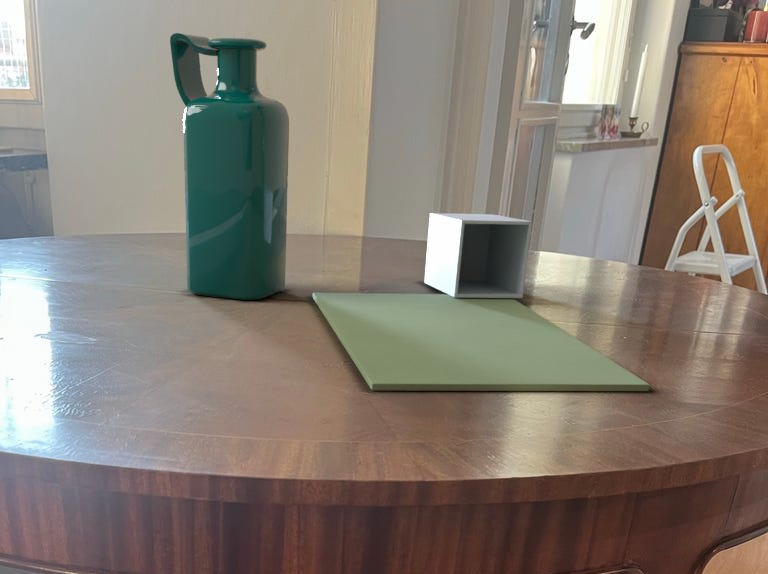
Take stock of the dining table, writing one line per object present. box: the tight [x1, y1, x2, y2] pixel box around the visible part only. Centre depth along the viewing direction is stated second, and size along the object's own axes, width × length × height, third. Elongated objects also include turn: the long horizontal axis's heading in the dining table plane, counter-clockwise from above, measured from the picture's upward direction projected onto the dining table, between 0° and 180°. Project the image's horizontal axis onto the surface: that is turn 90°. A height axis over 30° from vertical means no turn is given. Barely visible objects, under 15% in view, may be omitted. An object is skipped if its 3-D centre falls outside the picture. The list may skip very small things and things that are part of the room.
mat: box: [312, 292, 651, 392], centre depth 81 cm, size 20×34×1 cm, turn 6°
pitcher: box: [169, 32, 290, 301], centre depth 91 cm, size 10×8×22 cm
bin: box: [423, 212, 533, 299], centre depth 98 cm, size 7×7×12 cm
